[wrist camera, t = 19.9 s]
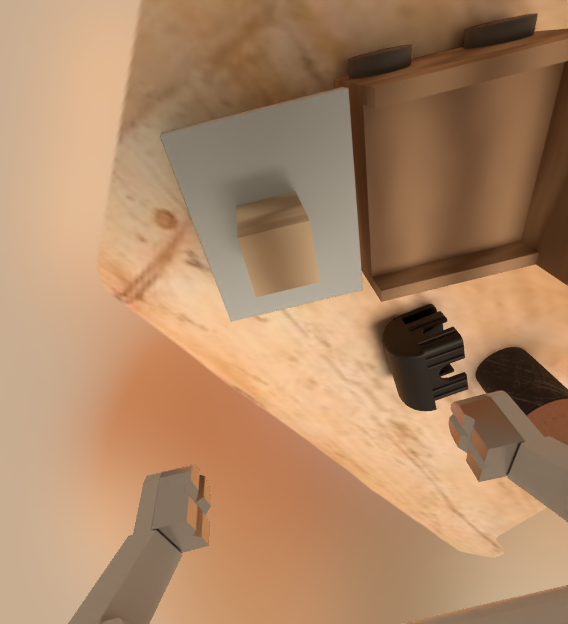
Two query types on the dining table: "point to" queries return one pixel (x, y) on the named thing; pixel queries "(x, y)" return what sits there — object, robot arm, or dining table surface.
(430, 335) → the end cap
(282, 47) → the dining table surface
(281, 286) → the beech block
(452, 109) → the tray
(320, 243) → the tailgate
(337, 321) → the dining table surface
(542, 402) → the travel mug
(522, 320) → the dining table surface
